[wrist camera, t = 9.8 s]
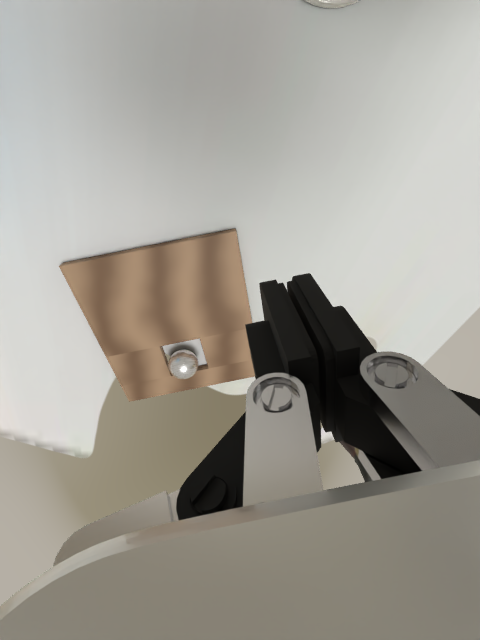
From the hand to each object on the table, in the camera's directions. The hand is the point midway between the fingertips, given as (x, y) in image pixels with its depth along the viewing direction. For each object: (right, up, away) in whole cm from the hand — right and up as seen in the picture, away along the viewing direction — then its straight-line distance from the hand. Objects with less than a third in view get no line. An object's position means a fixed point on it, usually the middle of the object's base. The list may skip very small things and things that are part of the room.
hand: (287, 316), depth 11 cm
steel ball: (-9, -6, +32) cm, 34 cm away
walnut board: (-10, -1, +31) cm, 33 cm away
